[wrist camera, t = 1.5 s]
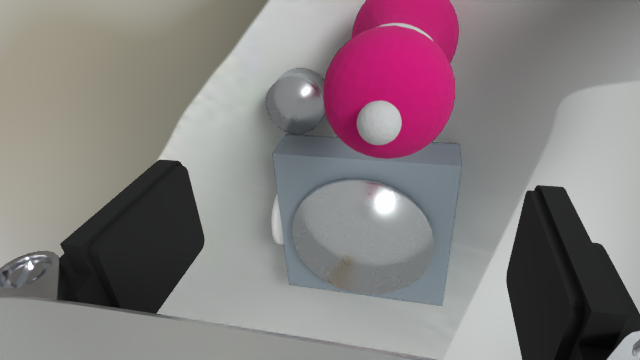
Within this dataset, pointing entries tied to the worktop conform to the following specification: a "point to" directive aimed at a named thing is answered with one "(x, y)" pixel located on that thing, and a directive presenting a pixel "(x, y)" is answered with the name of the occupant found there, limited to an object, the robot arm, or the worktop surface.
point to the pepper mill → (394, 77)
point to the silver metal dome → (296, 101)
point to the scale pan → (363, 236)
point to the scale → (403, 173)
